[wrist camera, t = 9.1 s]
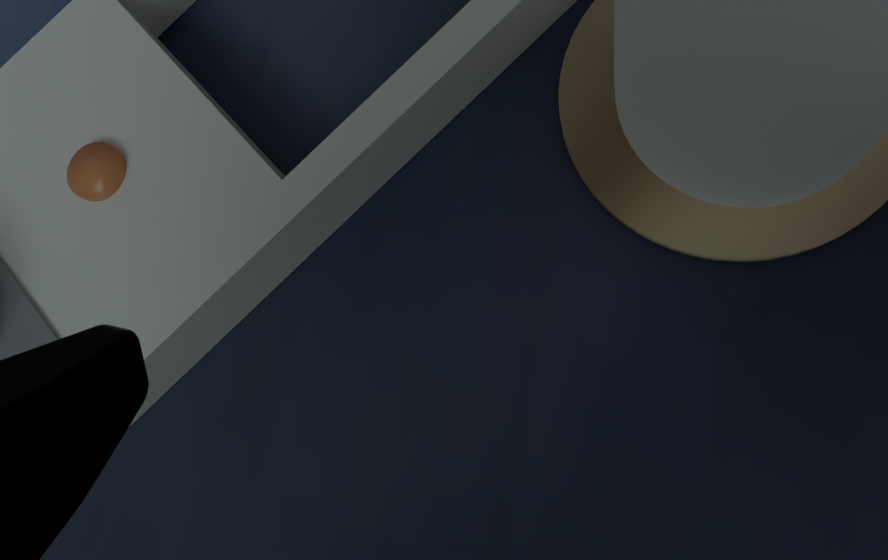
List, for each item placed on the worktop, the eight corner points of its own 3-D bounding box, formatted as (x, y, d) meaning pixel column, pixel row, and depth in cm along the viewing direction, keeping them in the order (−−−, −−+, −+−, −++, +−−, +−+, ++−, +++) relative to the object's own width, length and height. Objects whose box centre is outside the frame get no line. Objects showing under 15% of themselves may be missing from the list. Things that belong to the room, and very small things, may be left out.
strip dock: (596, -18, 22) (593, -75, 19) (-33, 580, 22) (-111, 594, 19) (369, -199, 25) (344, -268, 23) (-184, 325, 25) (-267, 310, 22)
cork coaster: (1012, 80, 19) (1021, 72, 19) (744, 337, 19) (746, 335, 19) (726, -120, 22) (728, -130, 21) (491, 105, 22) (489, 98, 21)
